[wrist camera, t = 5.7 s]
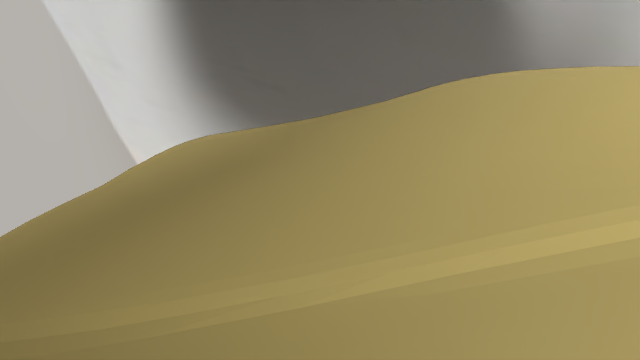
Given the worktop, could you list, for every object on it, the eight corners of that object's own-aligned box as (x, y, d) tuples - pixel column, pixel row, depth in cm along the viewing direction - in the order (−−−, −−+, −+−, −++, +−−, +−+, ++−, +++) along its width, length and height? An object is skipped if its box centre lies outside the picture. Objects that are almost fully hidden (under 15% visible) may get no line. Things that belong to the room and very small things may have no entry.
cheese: (259, 343, 15) (164, 824, 5) (190, 118, 11) (-427, 334, 2) (478, 309, 14) (796, 756, 5) (474, 66, 11) (1478, 8, 2)
